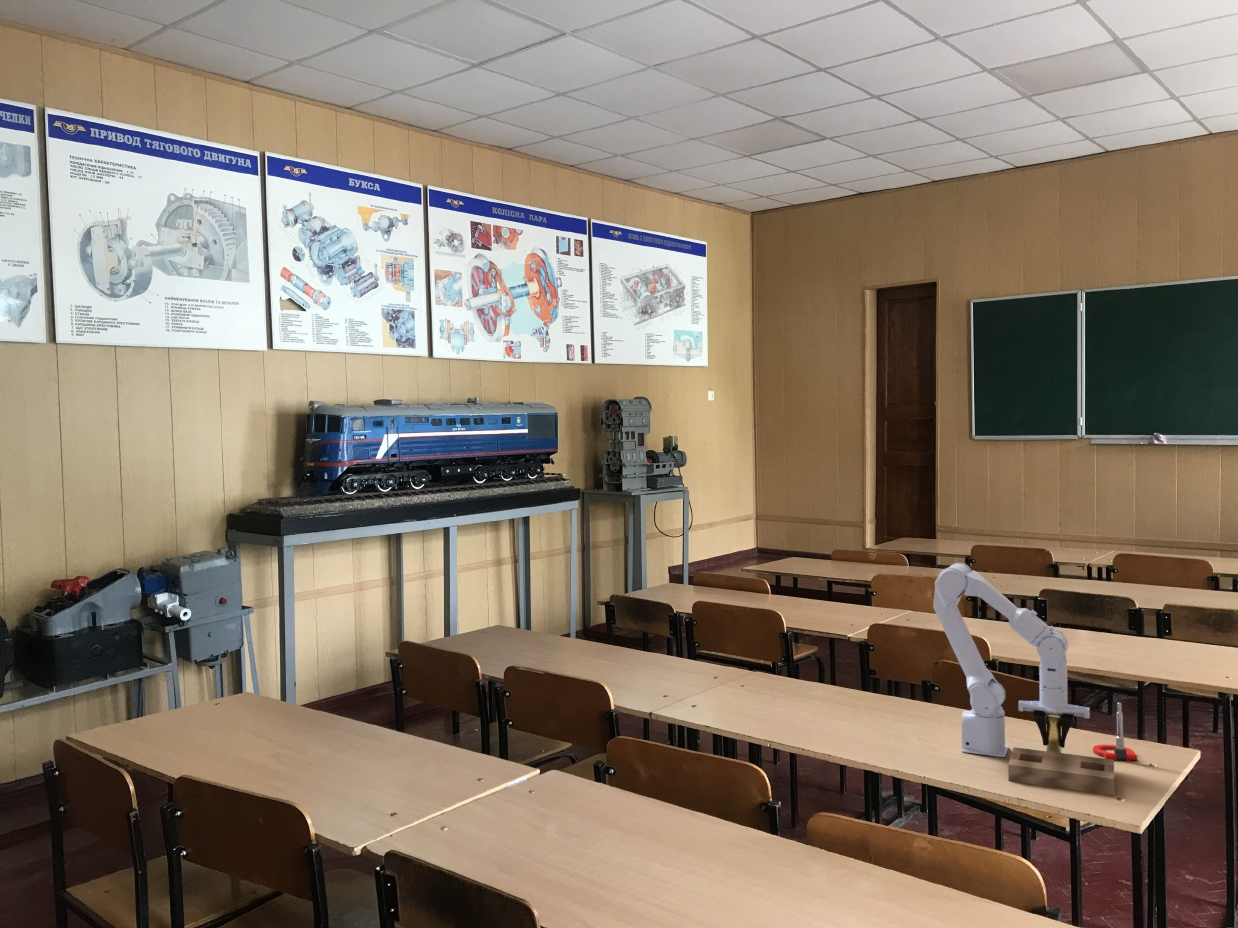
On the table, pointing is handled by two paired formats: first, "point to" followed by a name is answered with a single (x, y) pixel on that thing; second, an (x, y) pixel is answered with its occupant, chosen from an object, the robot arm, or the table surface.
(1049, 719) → the brass pin
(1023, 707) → the robot arm
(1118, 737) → the tow hook
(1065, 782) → the hole block
